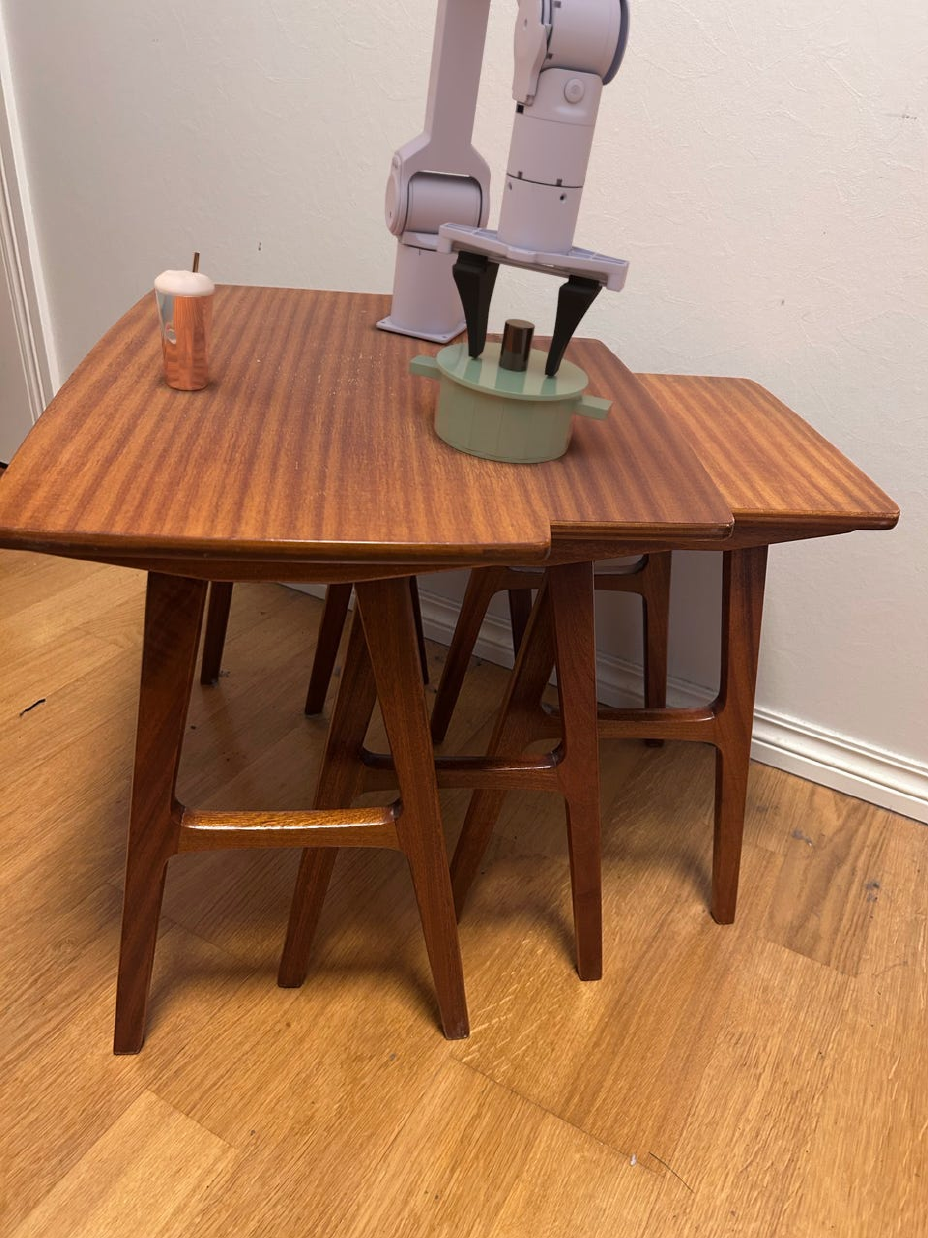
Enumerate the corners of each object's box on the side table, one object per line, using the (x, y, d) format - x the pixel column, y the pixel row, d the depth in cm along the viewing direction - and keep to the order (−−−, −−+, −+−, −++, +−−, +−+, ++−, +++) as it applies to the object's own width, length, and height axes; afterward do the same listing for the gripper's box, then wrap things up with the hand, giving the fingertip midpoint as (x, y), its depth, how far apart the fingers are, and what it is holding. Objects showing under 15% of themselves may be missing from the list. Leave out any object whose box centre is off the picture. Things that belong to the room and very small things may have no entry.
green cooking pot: (430, 392, 84) (438, 333, 81) (610, 437, 80) (624, 377, 77) (383, 431, 74) (389, 366, 71) (583, 484, 71) (598, 418, 68)
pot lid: (462, 344, 81) (470, 291, 78) (598, 377, 78) (611, 323, 76) (412, 383, 71) (419, 322, 68) (567, 421, 68) (580, 361, 66)
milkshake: (225, 376, 80) (225, 256, 74) (204, 397, 75) (202, 270, 70) (173, 367, 80) (169, 246, 74) (149, 387, 75) (143, 260, 70)
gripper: (432, 164, 65) (411, 354, 72) (633, 205, 62) (590, 398, 69) (463, 157, 70) (441, 334, 78) (648, 194, 68) (607, 373, 75)
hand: (513, 363), depth 74 cm, fingers open, 6 cm apart
